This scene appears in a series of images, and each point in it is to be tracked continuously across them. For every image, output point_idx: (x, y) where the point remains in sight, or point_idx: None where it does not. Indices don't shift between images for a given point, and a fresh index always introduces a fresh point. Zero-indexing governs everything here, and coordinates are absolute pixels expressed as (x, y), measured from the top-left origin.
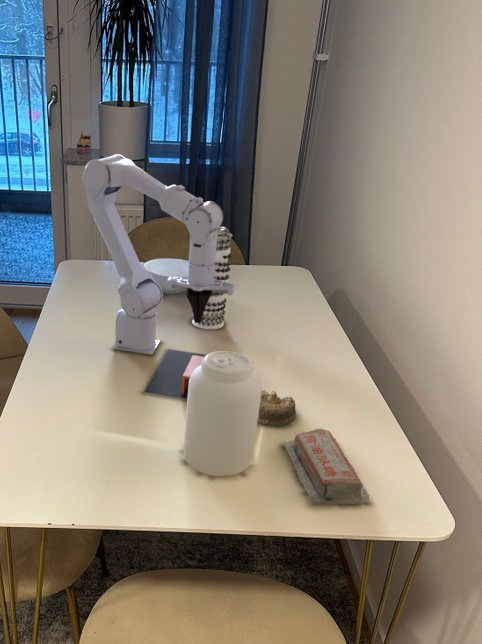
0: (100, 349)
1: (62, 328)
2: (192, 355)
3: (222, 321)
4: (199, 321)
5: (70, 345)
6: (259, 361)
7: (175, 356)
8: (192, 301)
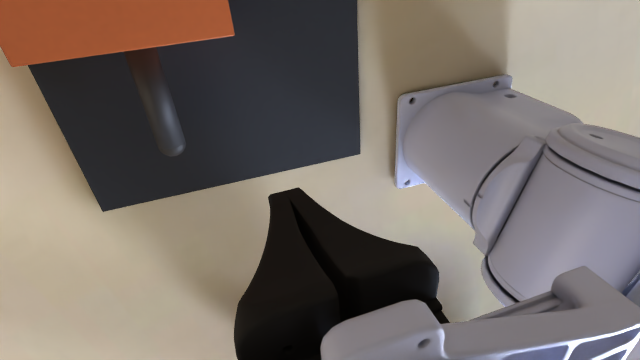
0: (544, 59)
1: (632, 126)
2: (233, 30)
3: None
4: (274, 197)
5: (621, 41)
6: (51, 240)
7: (325, 120)
8: (363, 248)
